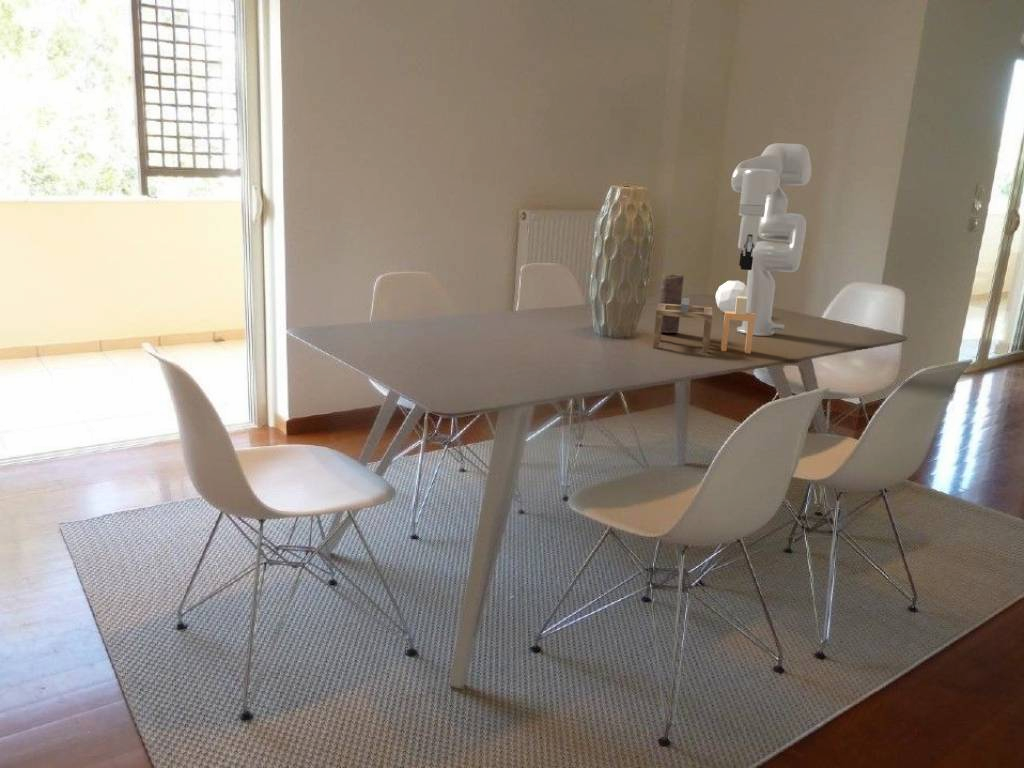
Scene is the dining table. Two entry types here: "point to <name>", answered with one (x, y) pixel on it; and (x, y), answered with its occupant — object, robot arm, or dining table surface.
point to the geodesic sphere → (729, 295)
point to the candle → (671, 300)
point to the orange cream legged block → (739, 316)
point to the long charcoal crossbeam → (685, 305)
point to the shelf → (675, 311)
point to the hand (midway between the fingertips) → (745, 267)
